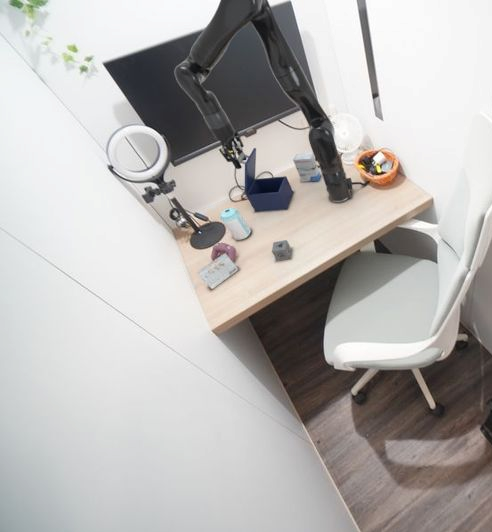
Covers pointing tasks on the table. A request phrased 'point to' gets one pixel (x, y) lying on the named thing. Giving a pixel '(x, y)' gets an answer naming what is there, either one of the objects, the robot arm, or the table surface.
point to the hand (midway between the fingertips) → (241, 163)
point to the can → (235, 223)
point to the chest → (270, 194)
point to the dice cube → (281, 250)
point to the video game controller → (223, 251)
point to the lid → (248, 168)
